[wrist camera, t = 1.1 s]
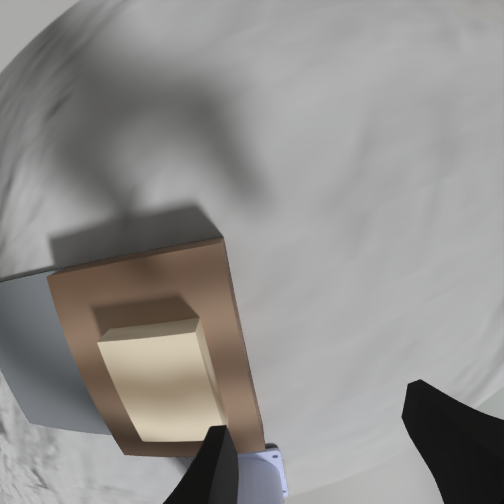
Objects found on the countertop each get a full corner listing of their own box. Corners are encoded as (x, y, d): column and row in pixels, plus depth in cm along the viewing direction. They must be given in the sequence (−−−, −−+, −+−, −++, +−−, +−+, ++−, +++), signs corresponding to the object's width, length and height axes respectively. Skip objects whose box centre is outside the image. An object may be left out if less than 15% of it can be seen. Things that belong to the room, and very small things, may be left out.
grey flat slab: (130, 433, 21) (129, 435, 21) (31, 421, 21) (29, 422, 21) (65, 267, 19) (62, 268, 18) (-27, 288, 18) (-29, 289, 18)
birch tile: (228, 419, 18) (227, 438, 16) (149, 423, 18) (142, 441, 16) (199, 317, 16) (195, 332, 14) (110, 328, 16) (97, 342, 14)
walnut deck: (262, 425, 21) (265, 450, 18) (133, 433, 21) (124, 454, 18) (223, 236, 19) (220, 243, 16) (68, 267, 19) (46, 276, 16)
